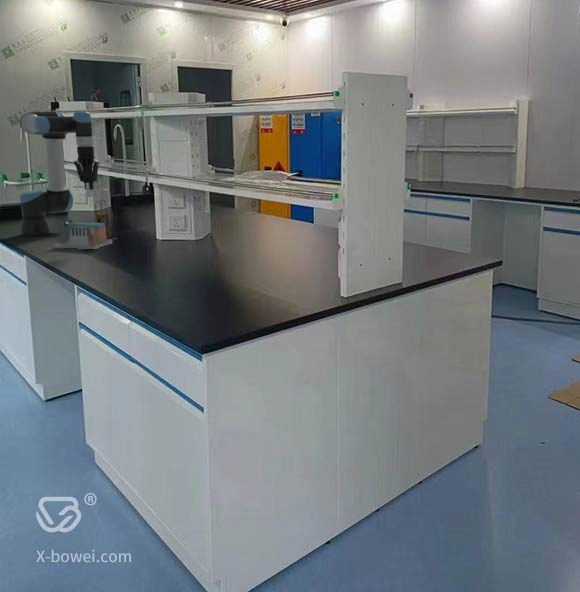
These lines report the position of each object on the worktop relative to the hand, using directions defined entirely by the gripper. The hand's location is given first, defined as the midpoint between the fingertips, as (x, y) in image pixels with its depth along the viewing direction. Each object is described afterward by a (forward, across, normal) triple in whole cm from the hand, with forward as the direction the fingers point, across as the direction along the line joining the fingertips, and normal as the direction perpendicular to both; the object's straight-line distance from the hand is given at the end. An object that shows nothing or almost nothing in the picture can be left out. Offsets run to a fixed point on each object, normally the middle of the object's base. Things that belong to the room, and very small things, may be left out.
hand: (89, 196), depth 299 cm
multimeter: (+25, -4, +21) cm, 33 cm away
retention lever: (+15, -5, 0) cm, 16 cm away
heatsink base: (+24, -6, 0) cm, 25 cm away
